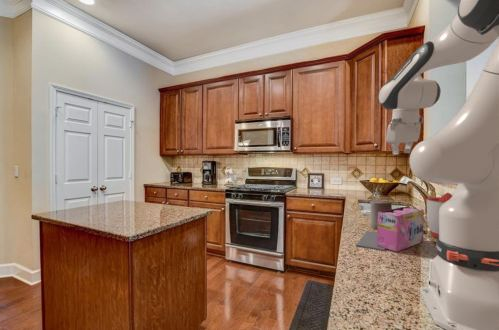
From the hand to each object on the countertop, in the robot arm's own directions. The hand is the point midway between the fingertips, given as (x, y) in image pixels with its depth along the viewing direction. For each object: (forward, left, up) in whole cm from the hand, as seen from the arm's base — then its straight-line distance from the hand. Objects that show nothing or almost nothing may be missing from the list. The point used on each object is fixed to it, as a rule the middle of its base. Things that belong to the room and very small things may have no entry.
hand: (401, 153), depth 97 cm
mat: (+1, +10, -37) cm, 38 cm away
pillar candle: (+25, +11, -37) cm, 46 cm away
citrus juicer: (+24, -16, -37) cm, 47 cm away
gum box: (+1, +1, -37) cm, 37 cm away
